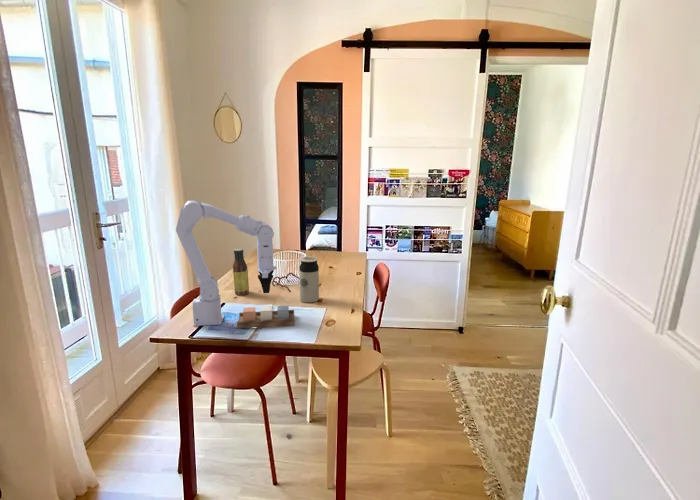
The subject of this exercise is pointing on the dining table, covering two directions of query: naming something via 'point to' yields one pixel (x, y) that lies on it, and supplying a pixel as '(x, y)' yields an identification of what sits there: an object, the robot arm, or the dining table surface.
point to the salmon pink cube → (249, 314)
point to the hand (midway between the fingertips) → (266, 290)
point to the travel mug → (309, 279)
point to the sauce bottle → (240, 273)
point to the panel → (266, 321)
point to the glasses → (281, 278)
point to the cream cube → (266, 313)
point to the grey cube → (283, 312)
